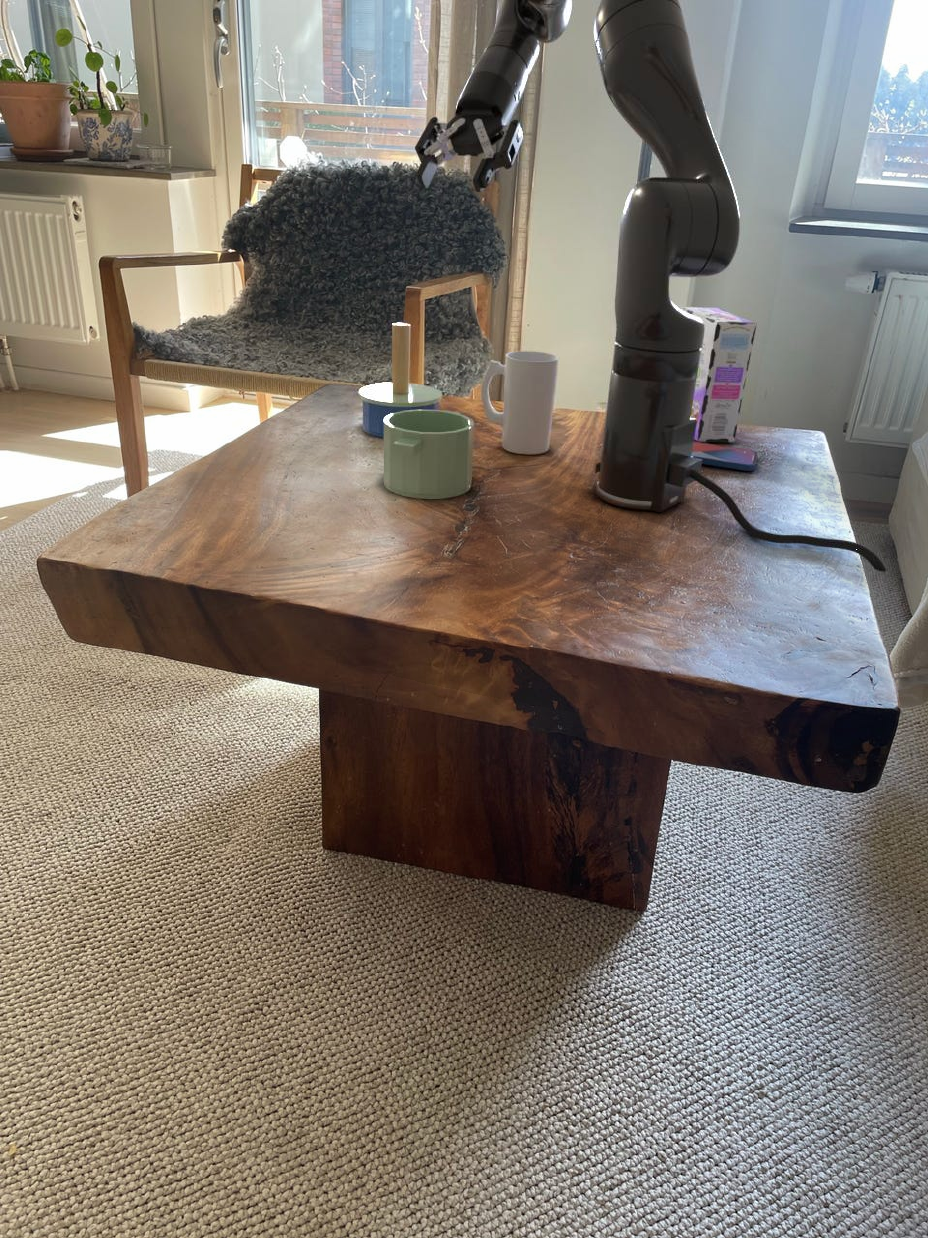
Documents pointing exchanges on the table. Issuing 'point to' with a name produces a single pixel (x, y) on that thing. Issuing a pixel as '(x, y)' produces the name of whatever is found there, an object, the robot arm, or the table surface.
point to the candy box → (721, 373)
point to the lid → (400, 378)
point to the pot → (428, 453)
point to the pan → (377, 413)
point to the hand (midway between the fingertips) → (449, 185)
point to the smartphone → (725, 456)
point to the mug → (524, 400)
